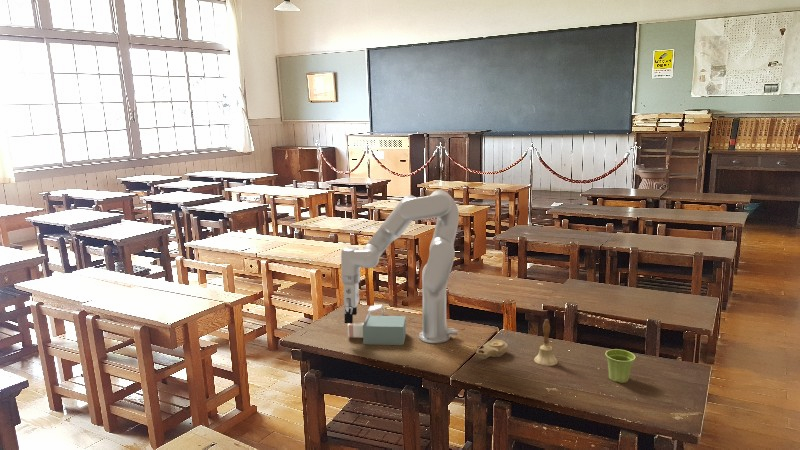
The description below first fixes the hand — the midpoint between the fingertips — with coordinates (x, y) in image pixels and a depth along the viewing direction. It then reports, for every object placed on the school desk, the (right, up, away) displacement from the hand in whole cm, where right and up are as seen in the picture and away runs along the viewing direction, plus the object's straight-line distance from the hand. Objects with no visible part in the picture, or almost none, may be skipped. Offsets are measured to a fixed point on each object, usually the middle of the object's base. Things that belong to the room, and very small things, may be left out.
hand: (350, 318), depth 224 cm
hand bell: (+73, -12, -22) cm, 77 cm away
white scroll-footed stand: (+8, -4, +24) cm, 26 cm away
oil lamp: (+54, -11, -18) cm, 58 cm away
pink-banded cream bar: (+5, -7, +1) cm, 9 cm away
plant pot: (+94, -14, -37) cm, 102 cm away
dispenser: (+14, -8, 0) cm, 16 cm away
